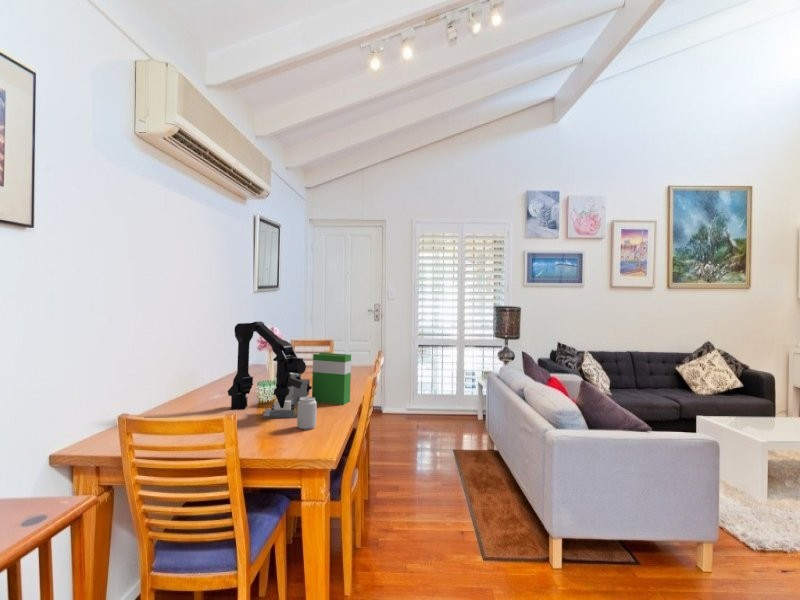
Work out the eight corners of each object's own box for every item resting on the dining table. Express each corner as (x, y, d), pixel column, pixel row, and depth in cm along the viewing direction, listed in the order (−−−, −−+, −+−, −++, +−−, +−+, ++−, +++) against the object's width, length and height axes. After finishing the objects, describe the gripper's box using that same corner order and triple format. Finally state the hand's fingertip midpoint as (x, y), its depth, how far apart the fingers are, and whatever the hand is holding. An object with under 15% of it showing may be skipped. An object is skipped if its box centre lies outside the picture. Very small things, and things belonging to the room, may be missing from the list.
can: (299, 431, 176) (300, 400, 176) (294, 426, 183) (295, 396, 183) (318, 429, 180) (319, 399, 180) (312, 424, 186) (313, 395, 186)
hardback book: (311, 401, 227) (313, 354, 227) (318, 398, 234) (320, 352, 234) (343, 404, 221) (345, 356, 221) (349, 401, 229) (351, 354, 228)
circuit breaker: (309, 405, 219) (309, 374, 219) (279, 404, 219) (280, 373, 219) (312, 401, 226) (313, 372, 226) (284, 400, 227) (284, 371, 227)
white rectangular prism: (273, 411, 196) (274, 402, 196) (274, 409, 199) (274, 400, 199) (290, 411, 198) (290, 402, 198) (290, 409, 200) (290, 400, 200)
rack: (262, 418, 193) (262, 411, 193) (265, 410, 206) (266, 404, 206) (300, 417, 196) (300, 410, 196) (301, 410, 209) (301, 403, 209)
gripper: (301, 375, 191) (300, 412, 191) (302, 368, 209) (301, 401, 209) (274, 375, 189) (273, 412, 189) (277, 368, 207) (277, 402, 207)
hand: (282, 407), depth 198 cm, fingers closed on white rectangular prism, 3 cm apart
